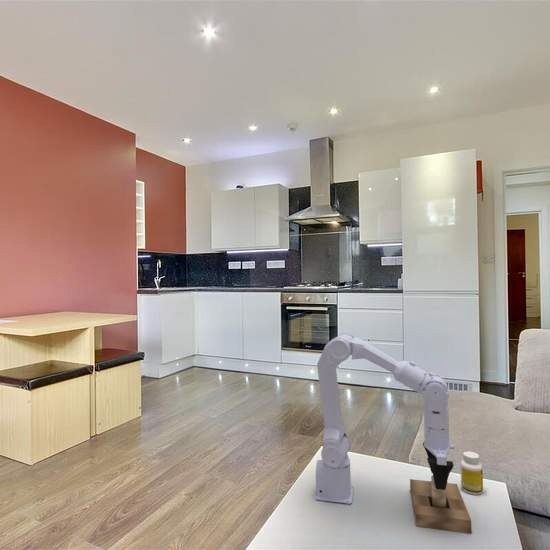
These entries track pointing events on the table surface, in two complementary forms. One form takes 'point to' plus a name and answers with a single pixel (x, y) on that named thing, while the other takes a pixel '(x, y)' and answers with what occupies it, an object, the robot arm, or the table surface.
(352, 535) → the table surface
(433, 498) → the beech peg
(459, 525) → the walnut socket board
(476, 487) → the supplement bottle
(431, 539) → the table surface
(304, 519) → the table surface
